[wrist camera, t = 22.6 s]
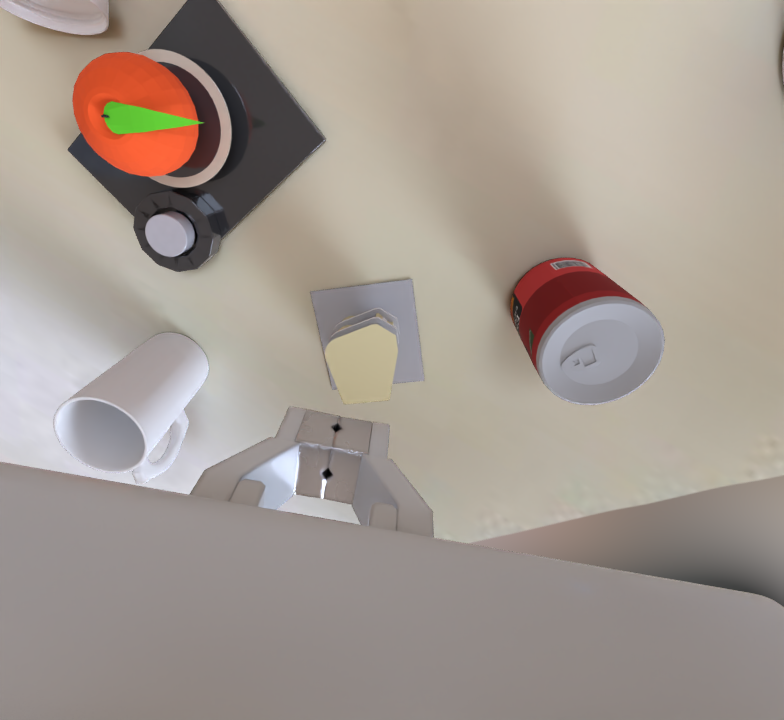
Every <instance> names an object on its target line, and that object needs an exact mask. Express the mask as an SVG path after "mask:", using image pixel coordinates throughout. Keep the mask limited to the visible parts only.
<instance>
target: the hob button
mask: <svg viewBox="0 0 784 720" xmlns="http://www.w3.org/2000/svg"><path fill="white" fill-rule="evenodd" d="M145 235H146V238H147V241H148V243H149V244H150V246H151V247H152V248H153V249H154V250H155V251H156V252H158V253H159V254H161V255H164V256H168V257H175V256H178V255H180V254H182V253H184V252H186V251H187V250H189V249H190V248H191V247H192V246H193V244H194V241H195V231H194V228H193V226H192V224H191V223H190V221H189V220H188V219H187V218H186V217H185V216H183V215H182V214H180V213H177V212H174V211H167V212H163V213H160V214H157V215H155V216H153V217H151V218H150V219H149V220H148V222H147V224H146V227H145Z"/></svg>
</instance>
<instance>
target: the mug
mask: <svg viewBox="0 0 784 720" xmlns="http://www.w3.org/2000/svg"><path fill="white" fill-rule="evenodd" d="M208 371H209V365H208V360H207V357H206V355H205V353H204V352H203V350H202V349H201V348H200V346H199V345H198V344H197V343H195V342H194V341H193V340H191V339H190V338H188V337H186V336H184V335H181V334H178V333H172V332H166V333H160V334H157V335H155V336H153V337H152V338H150V339H149V340H147V341H146V342H144V343H143V344H142V345H140V346H139V347H137V348H136V349H135V350H133V351H132V352H131V353H130V354H128V355H127V356H126V357H124V358H123V359H122V360H120V361H119V362H118V363H116V364H115V365H114V366H112V367H111V368H110V369H108V370H107V371H105V372H104V373H103V374H101V375H100V376H99V377H97V378H96V379H95V380H93V381H92V382H91V383H89V384H88V385H87V386H85V387H84V388H83V389H81V390H80V391H79V392H77V393H76V394H75V395H73V396H72V397H71V398H70V399H69V400H67V401H65V402H64V403H63V404H61V405H60V407H59V408H58V409H57V411H56V413H55V415H54V421H53V424H54V431H55V434H56V436H57V439H58V440H59V442H60V444H61V445H62V447H63V448H64V449H65V450H66V451H67V452H68V453H69V454H70V455H71V456H72V457H73V458H75V459H76V460H77V461H79V462H80V463H82V464H84V465H86V466H88V467H90V468H92V469H95V470H98V471H102V472H107V473H124V472H128V471H131V470H133V471H132V475H133V477H134V479H135V482H136V483H137V484H145V483H146V482H147V481H148V480H150V479H151V478H154V477H156V476H158V475H160V474H161V473H163V472H164V471H166V470H167V469H168V468H169V467H170V465H171V464H172V463H173V461H174V460H175V458H176V456H177V454H178V452H179V450H180V447H181V445H182V442H183V439H184V436H185V434H186V431H187V428H188V426H189V420H188V418H187V416H186V414H185V411H184V408H185V406H186V405H187V404H188V403H189V401H190V400H191V399H192V398H193V396H194V395H195V394H196V392H197V391H198V390H199V388H200V387H201V385H202V384H203V383H204V381H205V380H206V378H207V375H208ZM169 427H170V440H169V444H168V447H167V449H166V451H165V453H164V454H163V456H162V457H161V458H160V459H159V460H158V461H157V462H155V463H151V462H150V461H149V459H148V455H149V453H150V452H151V451H152V450H153V448H154V447H155V446H156V444H157V443H158V442H159V441H160V439H161V438H162V437H163V435H164V434H165V433H166V431H167V430H168V429H169Z"/></svg>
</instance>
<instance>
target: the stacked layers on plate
mask: <svg viewBox="0 0 784 720" xmlns="http://www.w3.org/2000/svg"><path fill="white" fill-rule="evenodd" d="M310 294H311V298H312V302H313V307H314V311H315V315H316V320H317V324H318V329H319V333H320V337H321V342H322V346H323V350H324V355H325V359H326V364H327V368H328V372H329V377H330V381H331V385H332V390H335V389H338V391H339V394H340V396H341V399H342V401H343V404H356V403H367V402H377V401H388V400H389V399H390V394H391V389H392V384H395V383H406V382H416V381H424V373H423V365H422V357H421V349H420V341H419V332H418V324H417V316H416V308H415V300H414V292H413V284H412V279H410V280H401V281H393V282H385V283H377V284H369V285H360V286H352V287H344V288H336V289H328V290H319V291H311V292H310Z"/></svg>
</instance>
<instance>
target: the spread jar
mask: <svg viewBox="0 0 784 720" xmlns="http://www.w3.org/2000/svg"><path fill="white" fill-rule="evenodd" d="M0 7H1V8H3V9H4V10H6V11H8V12H10V13H12V14H14V15H16V16H18V17H20V18H22V19H25V20H27V21H29V22H32V23H34V24H37V25H40V26H43V27H46V28H49V29H53V30H56V31H61V32H65V33H71V34H77V35H96V34H100V33H103V32H104V31H106V30H107V28H108V27H109V2H108V0H0Z"/></svg>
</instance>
